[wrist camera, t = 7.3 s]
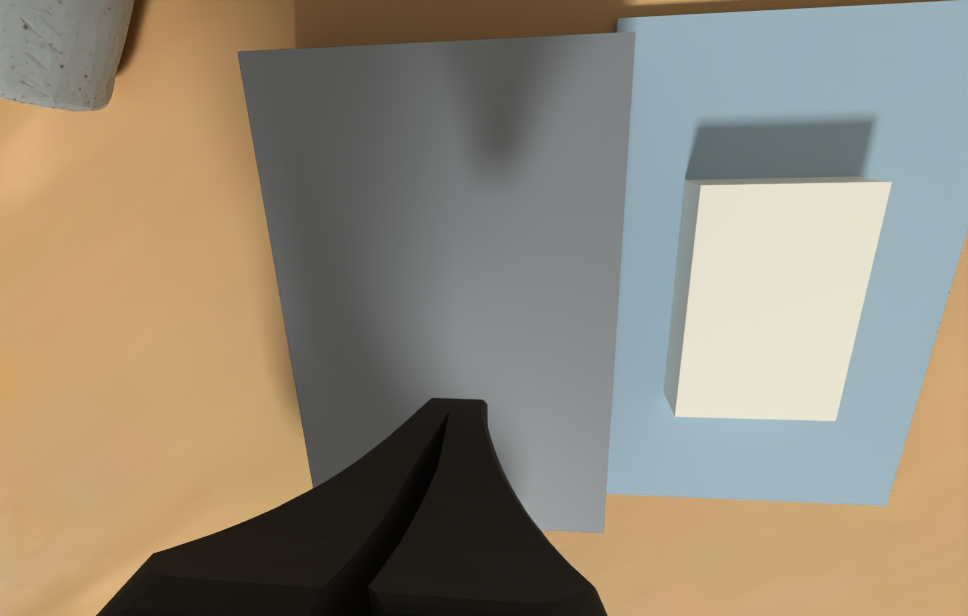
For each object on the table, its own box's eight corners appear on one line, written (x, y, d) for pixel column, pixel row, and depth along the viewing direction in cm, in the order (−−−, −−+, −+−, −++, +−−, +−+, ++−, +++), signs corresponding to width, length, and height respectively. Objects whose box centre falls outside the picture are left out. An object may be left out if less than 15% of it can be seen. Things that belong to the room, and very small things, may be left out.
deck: (593, 470, 24) (603, 533, 20) (350, 460, 25) (318, 518, 21) (615, 51, 18) (635, 31, 14) (295, 66, 19) (237, 51, 15)
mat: (880, 499, 23) (886, 505, 23) (592, 487, 24) (593, 493, 24) (1024, -1, 16) (1036, -4, 16) (616, 20, 18) (618, 18, 17)
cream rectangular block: (675, 416, 20) (663, 392, 22) (835, 421, 19) (809, 395, 21) (700, 185, 17) (684, 179, 19) (892, 181, 16) (855, 176, 18)
